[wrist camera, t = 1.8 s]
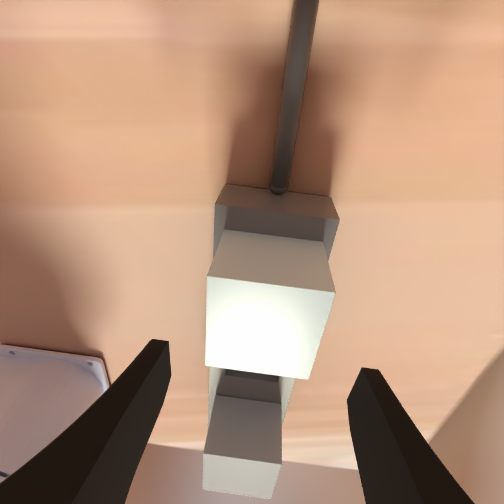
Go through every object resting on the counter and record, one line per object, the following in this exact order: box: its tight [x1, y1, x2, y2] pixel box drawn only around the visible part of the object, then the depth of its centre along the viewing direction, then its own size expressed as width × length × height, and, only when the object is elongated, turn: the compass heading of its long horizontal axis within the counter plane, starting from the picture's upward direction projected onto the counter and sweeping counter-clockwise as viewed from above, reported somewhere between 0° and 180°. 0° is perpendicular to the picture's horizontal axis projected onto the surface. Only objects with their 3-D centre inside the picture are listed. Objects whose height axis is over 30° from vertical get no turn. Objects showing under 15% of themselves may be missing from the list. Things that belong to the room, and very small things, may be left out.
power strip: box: [203, 0, 340, 499], centre depth 17 cm, size 6×31×7 cm, turn 175°
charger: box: [205, 229, 336, 380], centre depth 15 cm, size 5×5×6 cm
